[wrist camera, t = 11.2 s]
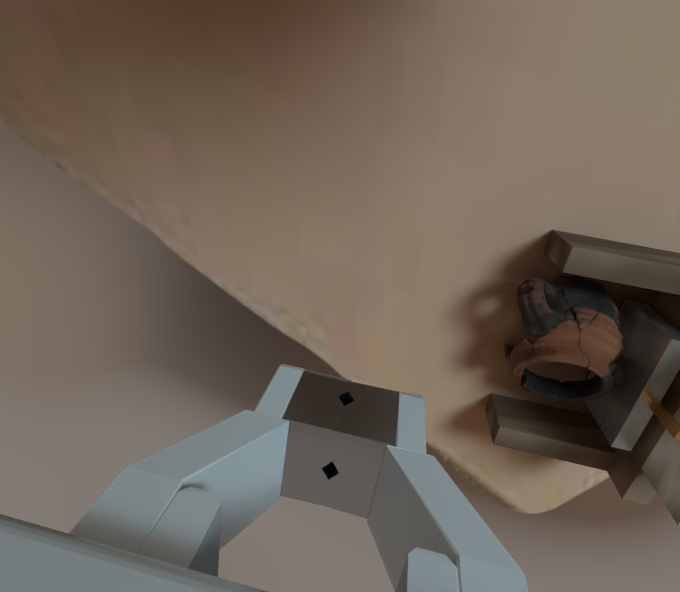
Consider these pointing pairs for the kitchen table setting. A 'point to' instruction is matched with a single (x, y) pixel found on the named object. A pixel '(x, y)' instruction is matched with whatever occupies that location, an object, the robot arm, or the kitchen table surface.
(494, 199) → the kitchen table surface
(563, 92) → the kitchen table surface
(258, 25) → the kitchen table surface
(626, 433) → the grey flat panel
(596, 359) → the pottery mug
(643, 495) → the stand
